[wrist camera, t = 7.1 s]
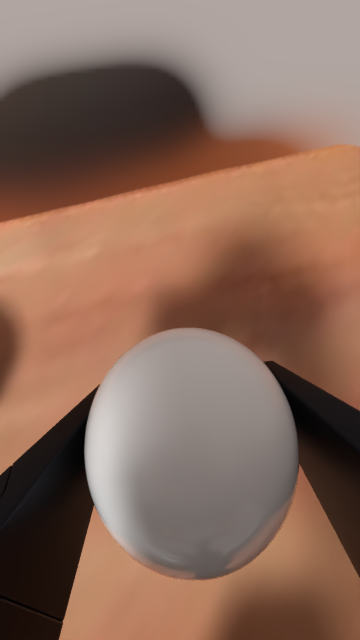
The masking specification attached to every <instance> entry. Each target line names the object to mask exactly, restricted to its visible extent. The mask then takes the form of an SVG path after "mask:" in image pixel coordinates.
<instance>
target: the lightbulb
mask: <svg viewBox="0 0 360 640" xmlns="http://www.w3.org/2000/svg"><path fill="white" fill-rule="evenodd" d="M84 459H85V470H86V477H87V482H88V486H89V490H90V493H91V497H92V500H93V502H94V505H95V507H96V510H97V512H98V514H99V516H100V518H101V520H102V522H103V524H104V525H105V527H106V529H107V530H108V532H109V533H110V534H111V536H112V537H113V539H114V540H115V541H116V542H117V543H118V544H119V546H120V547H121V548H122V549H123V550H124V551H125V552H126V553H127V554H128V555H130V556H131V557H132V558H133V559H134V560H136V561H137V562H139V563H140V564H141V565H143V566H145V567H146V568H148V569H150V570H152V571H154V572H156V573H158V574H161V575H163V576H166V577H170V578H174V579H178V580H185V581H204V580H211V579H216V578H220V577H223V576H226V575H229V574H231V573H233V572H235V571H237V570H239V569H241V568H243V567H244V566H246V565H247V564H249V563H250V562H252V561H253V560H254V559H255V558H257V557H258V556H259V555H260V554H261V553H262V552H263V551H264V550H265V549H266V548H267V547H268V545H269V544H270V543H271V542H272V540H273V539H274V538H275V536H276V535H277V533H278V532H279V530H280V529H281V527H282V525H283V523H284V521H285V519H286V517H287V515H288V513H289V510H290V507H291V505H292V502H293V498H294V495H295V491H296V486H297V480H298V472H299V445H298V436H297V430H296V425H295V421H294V417H293V414H292V411H291V408H290V405H289V403H288V400H287V398H286V396H285V394H284V392H283V390H282V388H281V386H280V384H279V383H278V381H277V379H276V378H275V376H274V375H273V373H272V372H271V371H270V369H269V368H268V367H267V366H266V365H265V363H264V362H263V361H262V360H261V359H260V358H259V357H258V356H257V355H256V354H255V353H254V352H252V351H251V350H250V349H249V348H247V347H246V346H245V345H243V344H242V343H240V342H238V341H237V340H235V339H233V338H231V337H229V336H227V335H224V334H222V333H219V332H216V331H212V330H208V329H203V328H193V327H184V328H174V329H169V330H165V331H162V332H158V333H156V334H153V335H151V336H149V337H147V338H145V339H143V340H141V341H140V342H138V343H136V344H135V345H134V346H132V347H131V348H130V349H128V350H127V351H126V352H125V353H124V354H123V355H122V356H121V357H120V358H119V359H118V360H117V361H116V362H115V363H114V364H113V366H112V367H111V368H110V370H109V371H108V372H107V374H106V375H105V377H104V379H103V380H102V382H101V384H100V386H99V388H98V390H97V392H96V394H95V397H94V399H93V402H92V405H91V408H90V411H89V415H88V419H87V425H86V431H85V442H84Z"/></svg>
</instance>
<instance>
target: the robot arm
mask: <svg viewBox="0 0 360 640" xmlns="http://www.w3.org/2000/svg"><path fill="white" fill-rule="evenodd" d="M264 363H265V365H266V366H267V367H268V368H269V369H270V371H271V372H272V373H273V375H274V376H275V378H276V379H277V381H278V383H279V384H280V386H281V388H282V390H283V392H284V394H285V396H286V398H287V400H288V403H289V405H290V408H291V411H292V414H293V417H294V421H295V425H296V430H297V436H298V445H299V464H300V466H301V467H302V469H303V471H304V473H305V475H306V477H307V479H308V481H309V483H310V485H311V486H312V488H313V490H314V492H315V494H316V496H317V498H318V500H319V502H320V504H321V505H322V507H323V509H324V511H325V513H326V515H327V517H328V519H329V521H330V522H331V524H332V526H333V528H334V530H335V532H336V534H337V536H338V538H339V540H340V541H341V543H342V545H343V547H344V549H345V551H346V553H347V555H348V557H349V559H350V560H351V562H352V564H353V566H354V568H355V570H356V572H357V574H358V576H359V577H360V411H359V410H357V409H355V408H354V407H352V406H350V405H348V404H347V403H345V402H343V401H341V400H340V399H338V398H336V397H334V396H333V395H331V394H329V393H327V392H326V391H324V390H322V389H321V388H319V387H317V386H315V385H314V384H312V383H310V382H308V381H307V380H305V379H303V378H301V377H300V376H298V375H296V374H294V373H293V372H291V371H289V370H287V369H286V368H284V367H282V366H280V365H279V364H277V363H275V362H273V361H265V362H264ZM99 386H100V385H98V386H97V387H96V388H95V389H94V390H93V391H92V392H91V393H90V394H89V395H88V396H86V397H85V398H84V399H83V400H82V401H81V402H80V403H79V404H78V405H77V406H75V407H74V408H73V409H72V410H71V411H70V412H69V413H68V414H67V415H66V416H65V417H63V418H62V419H61V420H60V421H59V422H58V423H57V424H56V425H55V426H54V427H53V428H51V429H50V430H49V431H48V432H47V433H46V434H45V435H44V436H43V437H42V438H41V439H39V440H38V441H37V442H36V443H35V444H34V445H33V446H32V447H31V448H30V449H28V450H27V451H26V452H25V453H24V454H23V455H22V456H21V457H20V458H19V459H18V460H16V461H15V462H14V463H13V465H12V466H10V467H9V468H8V469H7V470H5V471H4V472H3V473H2V474H1V475H0V640H59V637H60V633H61V629H62V625H63V620H64V617H65V613H66V609H67V606H68V602H69V598H70V594H71V590H72V587H73V583H74V579H75V575H76V571H77V568H78V564H79V560H80V556H81V552H82V549H83V545H84V541H85V537H86V534H87V530H88V526H89V522H90V518H91V515H92V511H93V507H94V502H93V500H92V497H91V493H90V490H89V486H88V482H87V477H86V470H85V459H84V442H85V431H86V425H87V419H88V415H89V411H90V408H91V405H92V402H93V399H94V397H95V394H96V392H97V390H98V388H99Z"/></svg>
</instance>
